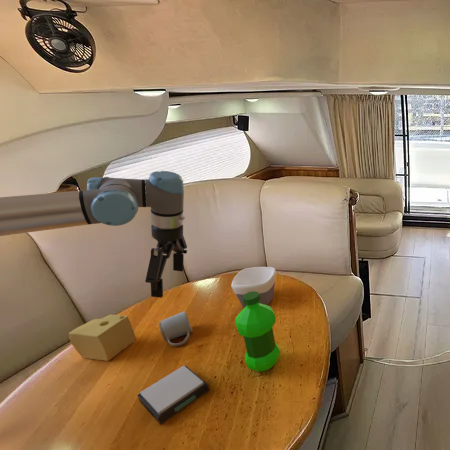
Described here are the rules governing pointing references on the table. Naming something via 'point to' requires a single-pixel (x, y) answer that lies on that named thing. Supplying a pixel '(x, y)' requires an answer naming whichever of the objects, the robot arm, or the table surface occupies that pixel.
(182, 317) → the ceramic mug
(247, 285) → the bowl
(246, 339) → the plastic bottle
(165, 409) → the scale
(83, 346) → the cheese
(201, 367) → the table surface
